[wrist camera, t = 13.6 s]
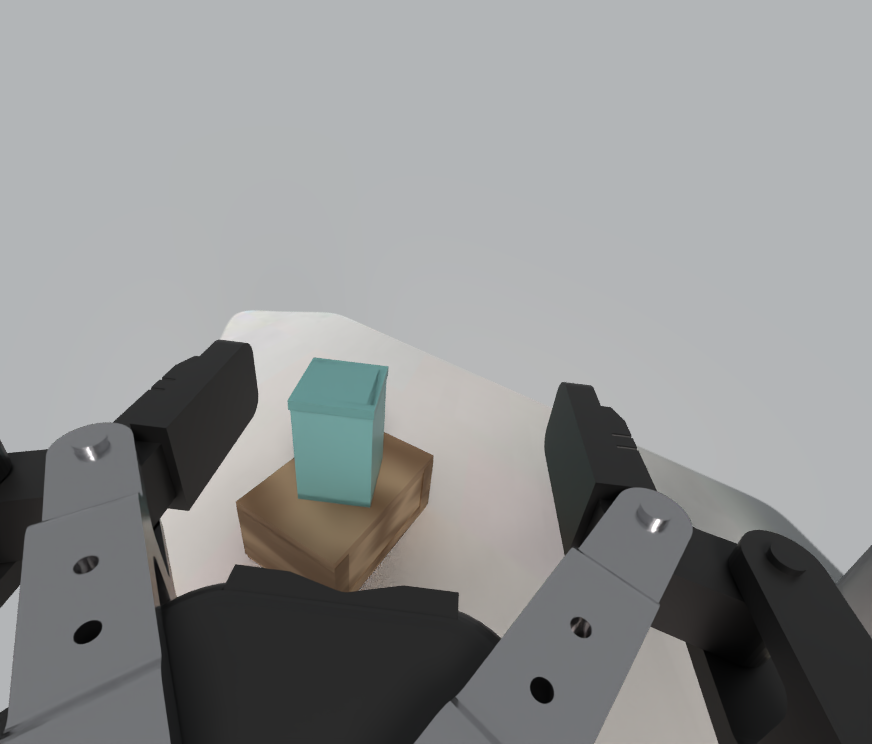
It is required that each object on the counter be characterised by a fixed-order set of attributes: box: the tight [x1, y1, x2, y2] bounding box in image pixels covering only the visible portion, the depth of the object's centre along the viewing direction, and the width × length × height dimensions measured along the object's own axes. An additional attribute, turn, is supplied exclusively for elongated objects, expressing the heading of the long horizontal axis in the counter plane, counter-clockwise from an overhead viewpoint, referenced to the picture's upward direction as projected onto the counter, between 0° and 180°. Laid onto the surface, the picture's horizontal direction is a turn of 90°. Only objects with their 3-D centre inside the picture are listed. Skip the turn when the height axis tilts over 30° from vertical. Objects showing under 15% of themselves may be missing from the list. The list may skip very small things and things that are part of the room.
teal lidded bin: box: [288, 358, 388, 508], centre depth 38 cm, size 6×6×10 cm
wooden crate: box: [236, 432, 433, 592], centre depth 42 cm, size 14×10×7 cm
